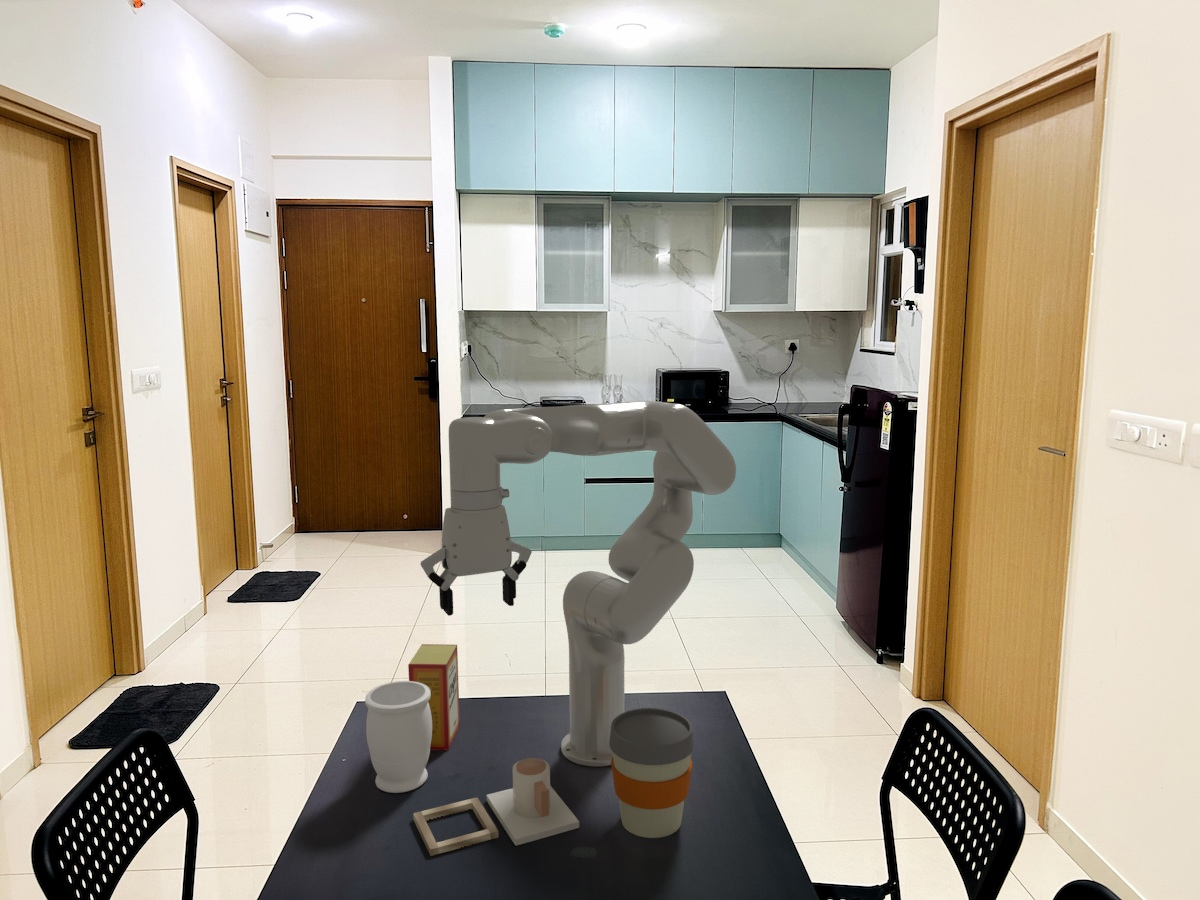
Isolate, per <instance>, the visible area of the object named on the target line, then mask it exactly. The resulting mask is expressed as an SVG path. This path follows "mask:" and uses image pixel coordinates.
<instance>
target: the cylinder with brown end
mask: <svg viewBox="0 0 1200 900" xmlns="http://www.w3.org/2000/svg"><path fill="white" fill-rule="evenodd" d="M550 769H551V767H550V764H549V763H548V762H547V761H546V760H545V759H542V758H539V757H526V758H523V759H520V760H518V761H517V762H515V763H514V764H513V766H512V788H513V808H514V812H515V813H516V814H517V815H519V816H521V817H525V818H536V817H540V816H541V817H545V816H548V815H549V810H550V786H551V771H550Z"/></svg>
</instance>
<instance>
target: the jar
mask: <svg viewBox="0 0 1200 900" xmlns="http://www.w3.org/2000/svg"><path fill="white" fill-rule="evenodd" d="M430 697H431V692H430V688H429V687H428V686H427V685H425V684H423V683H420V682H415V681H409V680H398V681H392V682H386V683H383V684H379V685H378V686H375V687H373V688H371V689H370V690H369V691H368V692H367V693H365V696H364V705H365V706H366V708H367V709H368V710H367V715H366V724H365V725H366V726H365V732H366V736H365V737H366V742H367V747H368V749H369V750H368V751H369V754H370V756H369V757H370V761H371V764H372V767H373V769H374V771H375V773H376V774H377V775H376V776H375V781H374V782H375V786H376V787H377V789H379V790H380V791H383V792H386V793H392V794H399V793H406V792H410V791H414V790H416V789H417V788H419V787H421V786H422V785H424V783H425V782H427V779H428V777H429V776H428V773H429V772H428V771H427V769H426V766H427V764H428V762H429V757H430V754H431V750H430V745H431V738H432V716H431V710H430V706H429V703H428V701H429V699H430Z"/></svg>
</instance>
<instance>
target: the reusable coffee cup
mask: <svg viewBox="0 0 1200 900" xmlns="http://www.w3.org/2000/svg"><path fill="white" fill-rule="evenodd" d="M609 745H610V749H611V750H612V753H613V757H612V759H611V765H610V766H611V772H612V778H613V779H612V781H613V787H614V792H615V795H616V796H617V798H618V803H619V809H620V811H619V812H620V818H621V824H622V825H623V827H624V829H626V831H627V832H630V833H631V834H633V835H635V836H637V837H640V838H641V837H642V838H648V839H649V838H650V839H659V838H665V837H668V836H670V835H673V834H674V833H675V832H677V831H679V829H680V827H681V826H682V821H683V820H682V819H683V814H684V807H685V806H684V805H685V799H686V798H687V797H688V794H689V792H690V785H691V778H692V771H693V761H692V759H691V758H692V753H693V751H694V748H695V739H694V728H693V725H692V722H691V721H690V719H688V718H687V717H686V716H684V714H681V713H679V712H676V711H673V710H669V709H664V708H656V707H654V708H653V707H642V708H641V707H640V708H635V709H631V710H627V711H624V713H622V714H620V715H618V716H617V717H616V718H615V719H614V720H613V721H612V724H611V731H610V740H609Z"/></svg>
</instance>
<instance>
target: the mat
mask: <svg viewBox="0 0 1200 900" xmlns="http://www.w3.org/2000/svg"><path fill="white" fill-rule="evenodd" d="M486 802H487V804H488V806H489V807H490V809H491V810H492V811H493V814H494V815H495V816H496V818H497V819H498V821H499V822H500V824H501V825H502V827H503V829H504V830H505V831H506V833H507V835H508V837H509V838H510V840H511V842H513V843H512V844H514V845H515V846H519V845H523V844H526V843H531V842H534V841H538V840H541V839H544V838H548V837H551V836H552V837H553V836H555V835H558V834H562V833H566V832H569V831H573V830H576V829H580V821H579V819H578V818H577V817H576V816H575V814H574V813H573V812H572V810H571V809H570V807H568V805H566V803H565V801H564V800H563V799H562V798H561V797H560V796H559V795H558V793H557V792H556V790H555V789H554V787H552V785H550V810H549V815H548V816H545V817H541V816H540V817H536V818H525V817H521V816H519V815H517V814H516V813H515V812H514V808H513V787H512V788H509V789H503V790H500V791H495V792H493V793H489V794H486Z"/></svg>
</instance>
